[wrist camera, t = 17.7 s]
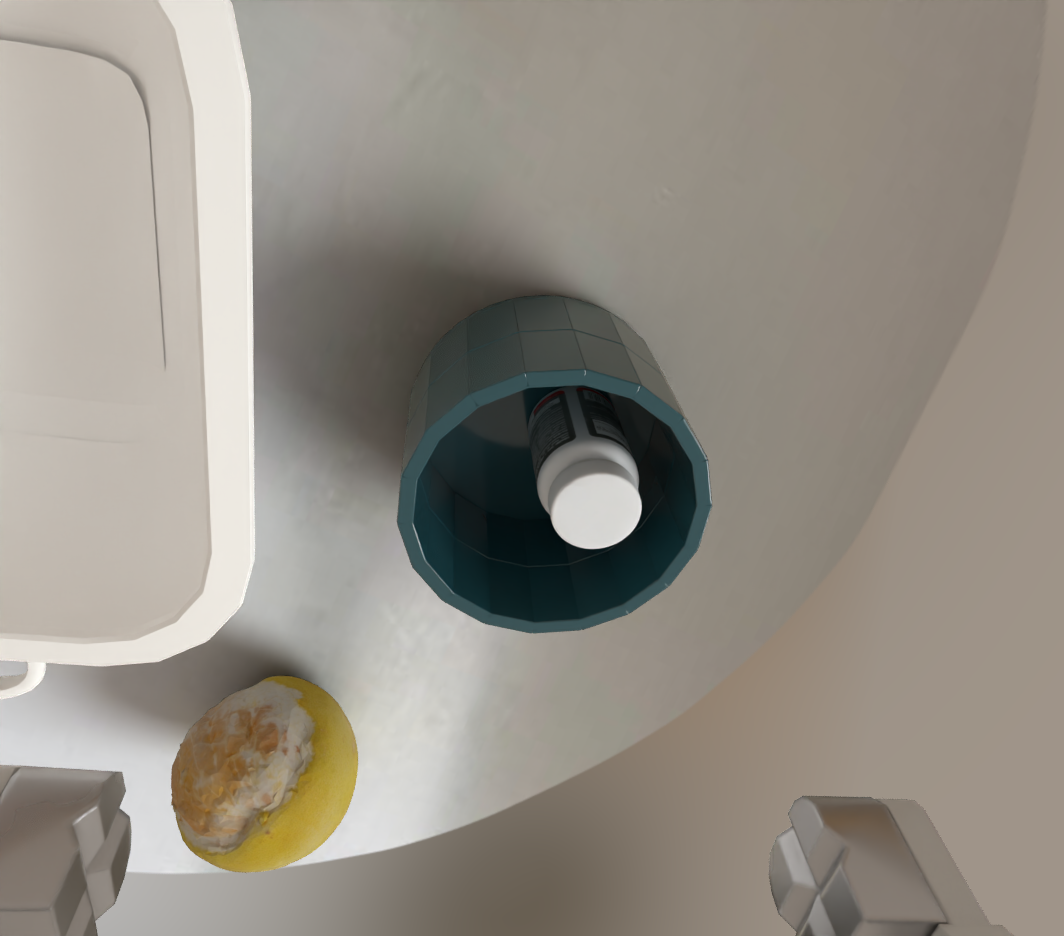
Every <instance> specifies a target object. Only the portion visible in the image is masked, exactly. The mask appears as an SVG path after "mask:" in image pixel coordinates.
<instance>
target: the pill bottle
mask: <svg viewBox="0 0 1064 936" xmlns="http://www.w3.org/2000/svg"><path fill="white" fill-rule="evenodd" d="M528 438H529V443H530V449H531V455H532V461H533V467H534V473H535V479H536V485H537V491H538V495H539V498H540V501H541V503H542V505H543V507H544V509H545V510H546V511H547V512H548V514H549V515H550V517H551V521H552V525H553V527H554V529H555V531H556V532H557V533H558V535H559V536H560V537H561V538H562V539H563V540H565V541H566V542H568V543H570V544H572V545H574V546H577V547H580V548H585V549H599V548H605V547H609V546H611V545H614V544H616V543H618V542H620V541H621V540H623V539H624V538H625V537H627V536H628V535H629V534H630V533H631V532H632V531H633V530H634V528H635V527H636V525H637V523H638V521H639V519H640V515H641V510H642V505H641V499H640V495H639V492H638V487H639V474H638V469H637V466H636V462H635V460H634V458H633V455H632V452H631V450H630V447H629V444H628V442H627V439H626V437H625V434H624V432H623V429H622V426H621V424H620V421H619V418H618V415H617V413H616V411H615V409H614V407H613V405H612V404H611V402H610V401H609V400H608V399H607V398H606V397H605V396H604V395H603V394H601V393H600V392H598V391H596V390H594V389H592V388H588V387H584V386H567V387H562V388H559V389H556V390H554V391H552V392H550V393H549V394H547V395H546V396H544V397H543V398H542V399H541V400H540V401H539V402H538V403H537V405H536V406H535V407H534V409H533V411H532V413H531V416H530V419H529V423H528Z"/></svg>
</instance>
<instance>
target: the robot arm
mask: <svg viewBox="0 0 1064 936" xmlns="http://www.w3.org/2000/svg"><path fill="white" fill-rule="evenodd" d="M125 792H126V789H125V784H124V779H123V774H122V772H114V771H98V770H81V769H65V768H48V767H32V766H16V765H0V936H98V935H97V929H96V923H95V921H96V920H97V919H98V918H99V917H100V916H102V915H103V914H104V913H105V912H106V911H107V910H108V909H109V908H111V907H112V906H113V905H114V904H115V902H116V899H117V896H118V894H119V891H120V888H121V885H122V883H123V880H124V876H125V872H126V867H127V863H128V859H129V854H130V848H131V823H130V817H129V816H128V815H127V814H126V813H125V812H123V811H122V810H121V809H120V808H119V807H120V804H121V802H122V800H123V797H124V795H125ZM788 815H789V818H790V820H791V823H792V827H790V828H789V829H787V830H786V831H784V832H783V833H781V834H780V835H778V836H777V838H776V840H775V842H774V845H773V847H772V849H771V852H770V861H769V879H770V885H771V891H772V895H773V898H774V901H775V904H776V907H777V910H778V913H779V915H780V916H781V917H782V918H783V919H784V920H785V921H786V922H787V923H788V924H789V925H790V926H791V927H792V928H793V929H794V930H795V931H796V932H797V933H796V936H1014V935H1013V934H1012V933H1010V932H1009V931H1008V930H1007V929H1006V928H1005V927H1003V926H1002V925H991V924H990V923H989V921H988V919H987V917H986V916H985V914H984V912H983V910H982V909H981V907H980V905H979V903H978V902H977V900H976V898H975V896H974V895H973V893H972V891H971V889H970V888H969V886H968V884H967V882H966V881H965V879H964V877H963V876H962V874H961V872H960V870H959V869H958V867H957V865H956V863H955V862H954V860H953V858H952V856H951V855H950V853H949V851H948V850H947V848H946V846H945V844H944V842H943V841H942V839H941V837H940V835H939V834H938V832H937V830H936V829H935V827H934V825H933V823H932V822H931V820H930V818H929V817H928V815H927V813H926V811H925V810H924V808H923V807H922V806H920V805H919V804H918V803H917V802H916V801H915V800H907V799H873V798H871V797H831V796H830V797H829V796H802V797H800V798H799V799H797V800H795V801H794V803H793V805H792V807H791V809H790V811H789V813H788Z"/></svg>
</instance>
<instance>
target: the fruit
mask: <svg viewBox="0 0 1064 936" xmlns="http://www.w3.org/2000/svg"><path fill="white" fill-rule="evenodd" d="M357 769H358V752H357V745H356V740H355V736H354V733H353V730H352V727H351V725H350V723H349V721H348V719H347V717H346V716H345V714H344V712H343V711H342V709H341V707H340V706H339V704H338V703H337V702H336V701H335V700H334V699H333V697H332V696H331V695H330V694H328V693H327V692H326V691H324V690H323V689H321V688H320V687H318V686H317V685H315V684H313V683H311V682H308V681H306V680H303V679H301V678H296V677H291V676H273V677H268V678H266V679H264V680H262V681H261V682H259V683H258V684H256V685H255V686H253V687H249V688H247V689H245V690H242V691H240V690H239V691H236V692H235V693H233V694H231V695H230V696H228V697H226V698H225V699H223V700H222V701H221V702H220V703H219V704H218V705H217V706H215V707H213V708H211V709H210V710H209V711H208V712H206V713H205V714H204V716H203V717H202V718H201V719H200V720H199V721H198V722H196V723H195V724H194V725H193V726H192V727H191V728H190V730H189V731H188V733H187V735H186V737H185V739H184V741H183V743H182V744H180V749H179V751H178V753H177V756H176V759H175V761H174V763H173V766H172V778H171V788H172V802H171V805H173V809H174V812H176V820H177V824H178V828H179V830H180V833H181V836H182V839H183V841H184V842H185V844H186V845H187V846H188V848H189V849H190V850H191V851H192V852H193V853H194V854H196V855H197V856H199V857H200V858H202V859H204V860H205V861H207V862H209V863H211V864H212V865H215V866H217V867H219V868H222V869H225V870H229V871H234V872H245V873H246V872H262V871H268V870H275V869H278V868H281V867H283V866H286V865H288V864H290V863H293V862H295V861H297V860H299V859H301V858H303V857H305V856H307V855H308V854H310V853H312V852H313V851H314V850H316V849H317V848H318V847H319V846H321V845H322V844H323V843H324V842H325V841H326V840H327V839H328V837H329V836H330V835H331V834H332V833H333V832H334V830H335V829H336V828H337V826H338V825H339V824H340V823H341V821H342V819H343V817H344V815H345V814H346V812H347V810H348V807H349V805H350V802H351V799H352V796H353V792H354V789H355V784H356V777H357Z"/></svg>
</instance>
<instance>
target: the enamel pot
mask: <svg viewBox="0 0 1064 936" xmlns="http://www.w3.org/2000/svg"><path fill="white" fill-rule="evenodd" d="M567 386H584V387H588V388H592V389H594V390H596V391H598V392H600V393H601V394H603V395H604V396H605V397H606V398H607V399H608V400H609V401H610V402H611V404H612V405H613V407H614V409H615V411H616V413H617V415H618V418H619V421H620V424H621V426H622V429H623V432H624V434H625V437H626V439H627V442H628V444H629V447H630V450H631V452H632V455H633V458H634V460H635V462H636V466H637V469H638V474H639V487H638V492H639V495H640V499H641V505H642V510H641V515H640V519H639V521H638V523H637V525H636V527H635V528H634V530H633V531H632V532H631V533H630V534H629V535H628V536H627V537H625V538H624V539H623V540H621V541H620V542H618V543H616V544H614V545H611V546H609V547H605V548H599V549H585V548H580V547H577V546H574V545H572V544H570V543H568V542H566V541H565V540H563V539H562V538H561V537H560V536H559V535H558V533H557V532H556V531H555V529H554V527H553V525H552V521H551V517H550V515H549V514H548V512H547V511H546V510H545V509H544V507H543V505H542V503H541V501H540V498H539V495H538V491H537V485H536V479H535V473H534V467H533V461H532V455H531V449H530V443H529V438H528V423H529V419H530V416H531V413H532V411H533V409H534V407H535V406H536V405H537V403H538V402H539V401H540V400H541V399H542V398H543V397H544V396H546V395H547V394H549V393H550V392H552V391H554V390H556V389H559V388H562V387H567ZM711 508H712V496H711V486H710V475H709V464H708V459H707V456H706V454H705V452H704V450H703V448H702V446H701V444H700V443H699V441H698V439H697V437H696V435H695V433H694V431H693V429H692V427H691V426H690V424H689V422H688V420H687V418H686V416H685V414H684V412H683V410H682V408H681V406H680V405H679V403H678V401H677V399H676V397H675V395H674V393H673V391H672V389H671V388H670V386H669V384H668V382H667V380H666V378H665V376H664V374H663V373H662V371H661V369H660V367H659V366H658V364H657V362H656V360H655V358H654V357H653V355H652V353H651V351H650V350H649V348H648V346H647V344H646V343H645V341H644V340H643V339H642V338H641V337H640V336H639V335H638V334H637V333H636V332H635V331H634V330H632V329H631V328H630V327H629V326H628V325H627V324H626V323H625V322H623V321H622V320H620V319H619V318H617V317H616V316H615V315H613V314H612V313H610V312H608V311H606V310H604V309H602V308H600V307H598V306H596V305H593V304H590V303H587V302H584V301H581V300H578V299H572V298H567V297H562V296H548V295H538V296H524V297H519V298H514V299H509V300H505V301H502V302H499V303H496V304H493V305H490V306H488V307H486V308H484V309H481V310H479V311H477V312H475V313H473V314H472V315H470V316H469V317H467V318H465V319H464V320H462V321H461V322H459V323H458V324H457V325H456V326H454V327H453V328H452V329H451V330H450V331H449V332H447V333H446V334H445V335H444V336H443V337H442V339H441V340H440V341H439V342H438V343H437V344H436V345H435V346H434V348H433V349H432V351H431V352H430V354H429V355H428V357H427V358H426V360H425V361H424V363H423V365H422V367H421V369H420V372H419V374H418V376H417V379H416V382H415V384H414V386H413V388H412V391H411V399H410V407H409V415H408V423H407V431H406V439H405V447H404V455H403V463H402V471H401V480H400V491H399V503H398V515H397V523H398V524H397V525H398V528H399V531H400V533H401V536H402V539H403V542H404V545H405V548H406V551H407V554H408V556H409V559H410V562H411V565H412V567H413V568H414V570H415V571H416V572H417V573H418V574H419V575H420V576H421V577H422V579H423V580H424V581H425V582H426V583H427V584H428V585H429V586H430V588H431V589H432V590H433V591H434V592H435V593H436V594H437V595H438V597H439V598H440V599H441V600H442V601H444V602H445V603H447V604H449V605H451V606H453V607H455V608H456V609H458V610H460V611H462V612H464V613H466V614H467V615H469V616H471V617H473V618H475V619H476V620H478V621H480V622H482V623H485V624H488V625H493V626H498V627H502V628H507V629H512V630H517V631H522V632H527V633H546V632H561V631H576V630H581V629H582V630H584V629H587V628H590V627H593V626H596V625H599V624H601V623H604V622H607V621H610V620H613V619H616V618H619V617H622V616H625V615H628V613H631V612H633V611H634V610H636V609H637V608H638V607H640V606H641V605H643V604H644V603H646V602H647V601H649V600H650V599H651V598H653V597H654V596H656V595H657V594H659V593H660V592H662V591H663V590H665V589H666V588H667V587H668V586H670V585H671V584H672V582H673V581H674V580H675V578H676V577H677V576H678V575H679V573H680V572H681V571H682V569H683V568H684V567H685V566H686V564H687V563H688V562H689V560H690V559H691V558H692V557H693V555H694V554H695V553H696V551H697V550H698V548H699V546H700V542H701V539H702V536H703V533H704V530H705V527H706V524H707V520H708V517H709V514H710V511H711Z"/></svg>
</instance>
